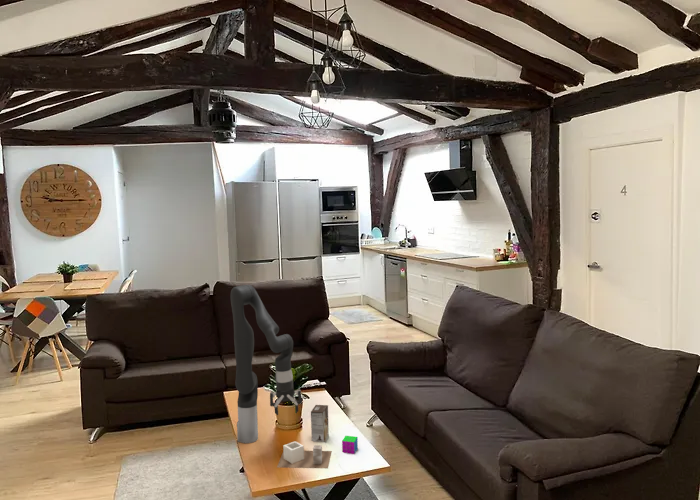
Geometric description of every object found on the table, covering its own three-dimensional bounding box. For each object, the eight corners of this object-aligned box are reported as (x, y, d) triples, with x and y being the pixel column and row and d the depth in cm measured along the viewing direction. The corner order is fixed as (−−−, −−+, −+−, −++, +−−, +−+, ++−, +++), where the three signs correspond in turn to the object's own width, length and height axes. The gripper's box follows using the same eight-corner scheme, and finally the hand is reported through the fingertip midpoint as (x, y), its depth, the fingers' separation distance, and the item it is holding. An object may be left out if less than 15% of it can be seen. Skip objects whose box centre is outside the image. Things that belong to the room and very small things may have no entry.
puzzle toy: (357, 448, 255) (357, 436, 254) (354, 454, 249) (354, 442, 249) (345, 447, 256) (345, 435, 256) (342, 452, 251) (342, 440, 250)
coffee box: (316, 436, 269) (315, 404, 267) (329, 436, 268) (328, 404, 266) (311, 444, 260) (310, 411, 258) (324, 445, 259) (323, 412, 257)
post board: (276, 470, 235) (276, 451, 234) (283, 453, 251) (283, 435, 250) (328, 471, 233) (327, 452, 233) (331, 454, 249) (331, 436, 249)
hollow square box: (292, 463, 238) (291, 450, 237) (283, 458, 243) (283, 445, 242) (304, 458, 242) (303, 445, 241) (295, 453, 247) (295, 441, 246)
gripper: (267, 383, 243) (270, 418, 245) (300, 380, 244) (302, 415, 246) (268, 377, 250) (271, 411, 252) (300, 374, 252) (302, 408, 254)
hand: (286, 413), depth 249 cm, fingers open, 8 cm apart
